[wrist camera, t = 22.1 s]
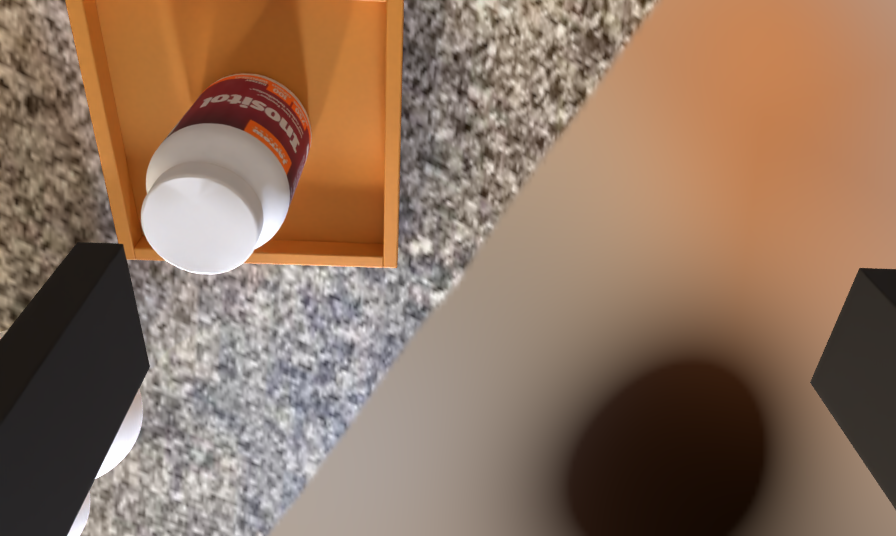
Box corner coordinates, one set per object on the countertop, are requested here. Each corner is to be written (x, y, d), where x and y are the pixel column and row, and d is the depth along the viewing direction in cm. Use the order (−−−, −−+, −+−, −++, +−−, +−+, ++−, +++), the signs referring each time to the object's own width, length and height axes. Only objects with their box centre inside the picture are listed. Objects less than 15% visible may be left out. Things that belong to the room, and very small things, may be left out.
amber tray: (404, -24, 35) (403, -15, 33) (398, 249, 43) (397, 268, 42) (75, -42, 34) (56, -34, 32) (133, 241, 43) (121, 259, 41)
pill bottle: (330, 99, 38) (300, 195, 28) (291, 195, 41) (252, 310, 31) (213, 48, 36) (141, 131, 27) (181, 152, 39) (106, 259, 30)
